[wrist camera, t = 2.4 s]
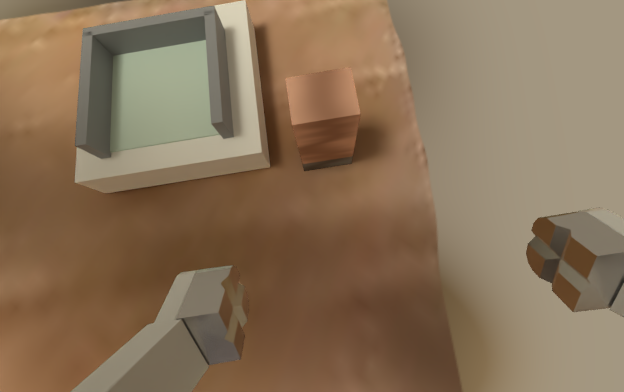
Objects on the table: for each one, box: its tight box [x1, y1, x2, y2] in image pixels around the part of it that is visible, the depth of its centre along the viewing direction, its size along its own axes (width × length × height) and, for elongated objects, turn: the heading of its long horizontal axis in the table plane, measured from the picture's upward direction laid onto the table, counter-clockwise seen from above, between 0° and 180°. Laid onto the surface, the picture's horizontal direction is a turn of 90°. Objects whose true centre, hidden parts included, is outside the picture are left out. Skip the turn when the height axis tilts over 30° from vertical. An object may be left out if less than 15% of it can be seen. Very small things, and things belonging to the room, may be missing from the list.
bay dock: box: [75, 0, 270, 193], centre depth 31 cm, size 18×18×7 cm
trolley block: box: [285, 67, 360, 171], centre depth 27 cm, size 5×4×10 cm
